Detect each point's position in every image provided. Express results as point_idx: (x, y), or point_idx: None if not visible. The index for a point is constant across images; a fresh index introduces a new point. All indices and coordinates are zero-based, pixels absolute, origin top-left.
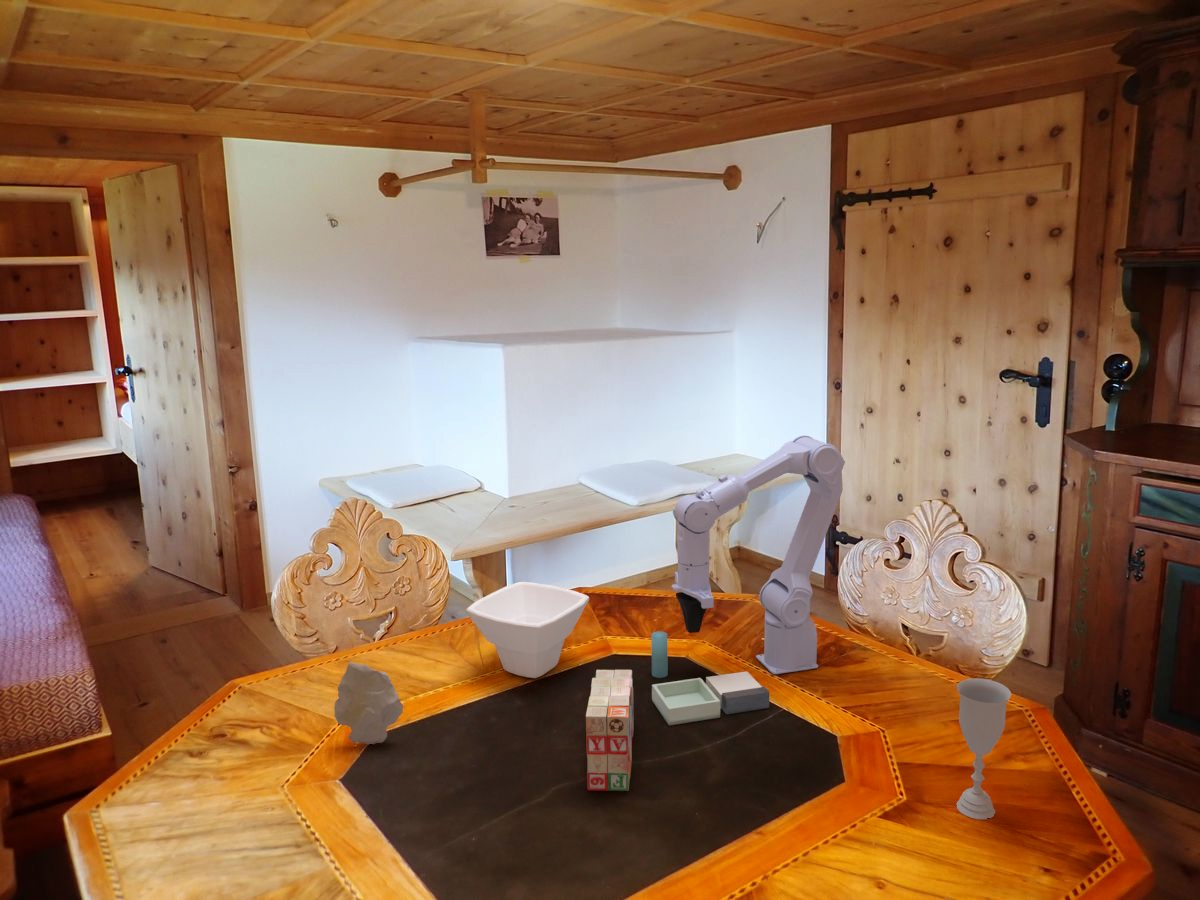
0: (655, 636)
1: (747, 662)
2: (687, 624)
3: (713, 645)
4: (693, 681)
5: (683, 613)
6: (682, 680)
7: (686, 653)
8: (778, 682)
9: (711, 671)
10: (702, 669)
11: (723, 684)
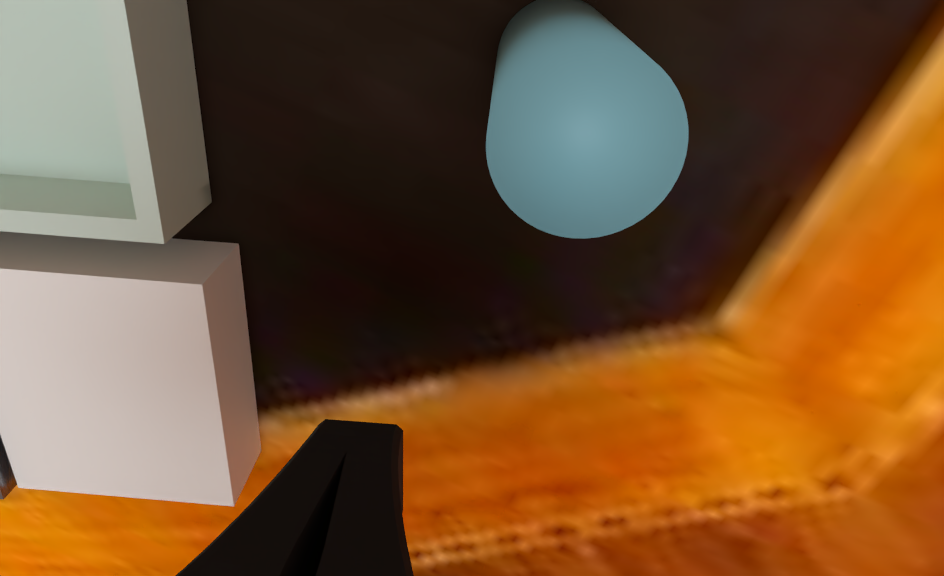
0: (554, 78)
1: (492, 548)
2: (280, 478)
3: (762, 505)
4: (134, 178)
5: (361, 572)
6: (138, 103)
7: (755, 345)
8: None
9: (464, 369)
10: (507, 337)
11: (84, 335)
